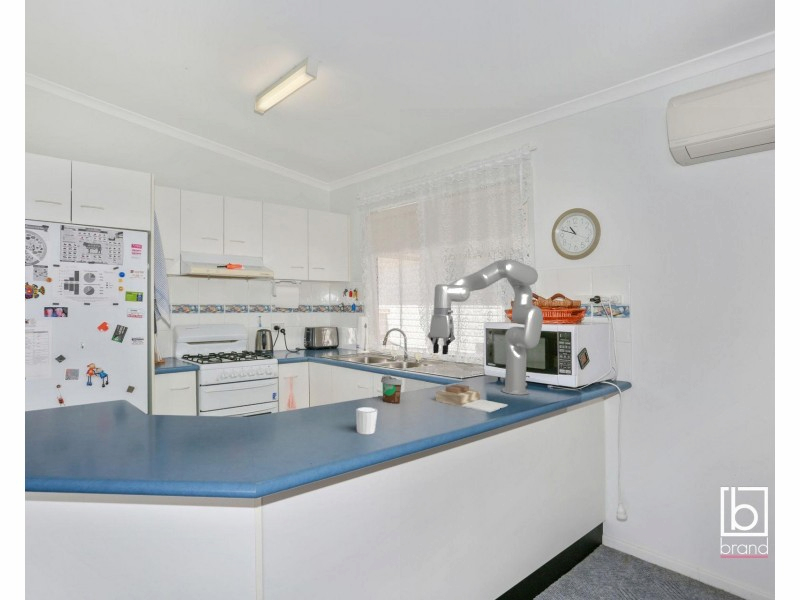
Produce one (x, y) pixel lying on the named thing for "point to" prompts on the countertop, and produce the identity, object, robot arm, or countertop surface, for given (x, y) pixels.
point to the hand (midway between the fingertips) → (440, 353)
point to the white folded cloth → (484, 405)
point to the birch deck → (457, 397)
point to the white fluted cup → (366, 420)
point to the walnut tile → (457, 389)
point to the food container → (391, 389)
